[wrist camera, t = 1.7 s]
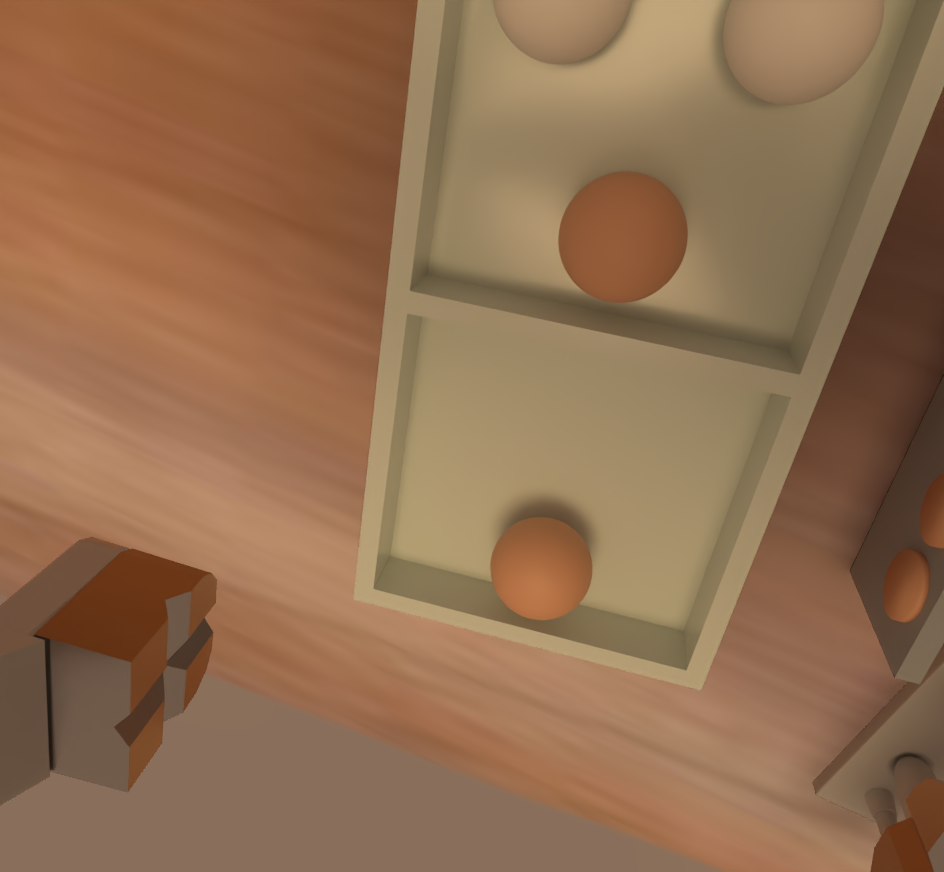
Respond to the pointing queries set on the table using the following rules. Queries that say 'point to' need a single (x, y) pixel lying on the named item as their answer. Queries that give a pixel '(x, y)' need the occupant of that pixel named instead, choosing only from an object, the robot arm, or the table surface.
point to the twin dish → (618, 318)
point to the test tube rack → (891, 753)
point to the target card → (909, 555)
